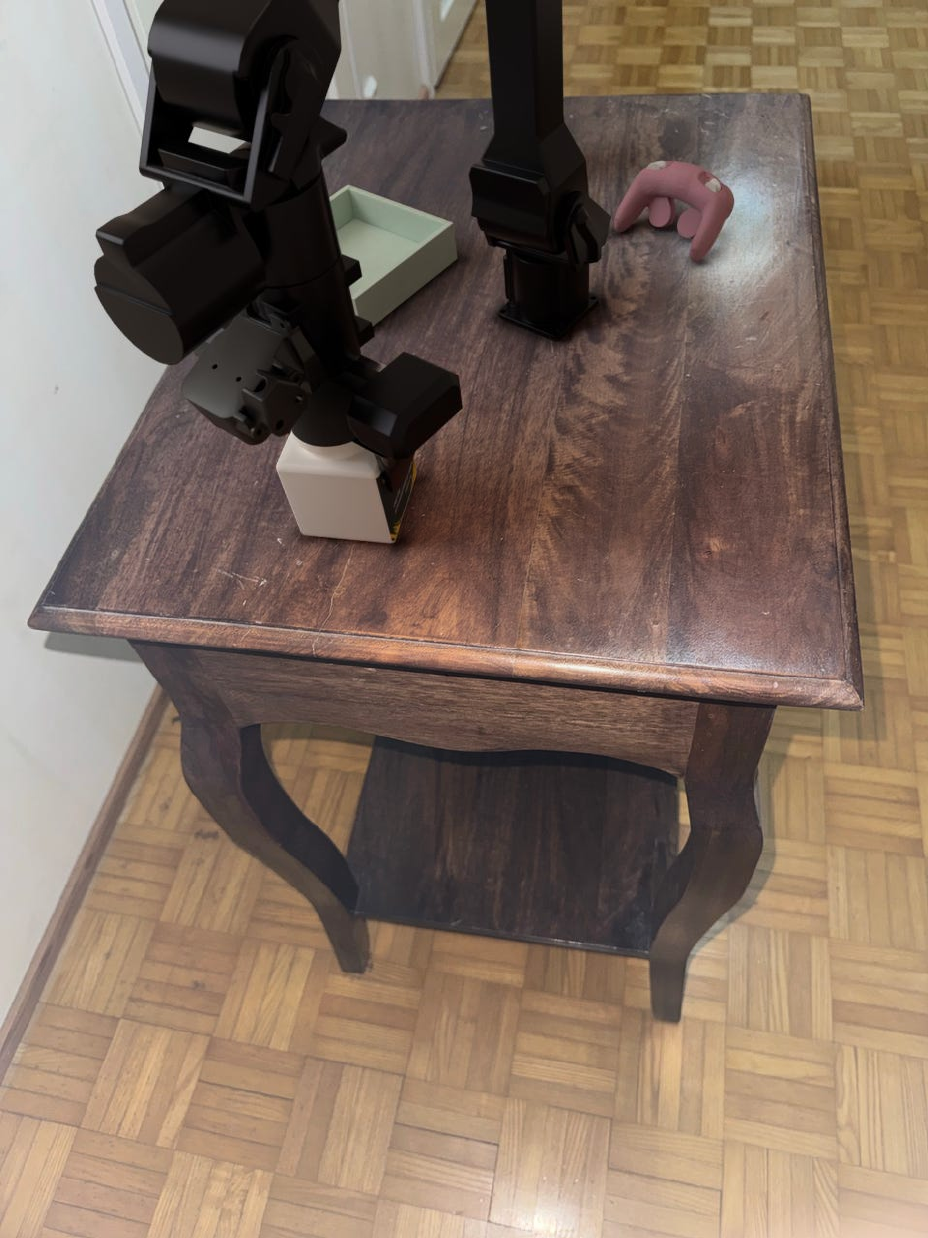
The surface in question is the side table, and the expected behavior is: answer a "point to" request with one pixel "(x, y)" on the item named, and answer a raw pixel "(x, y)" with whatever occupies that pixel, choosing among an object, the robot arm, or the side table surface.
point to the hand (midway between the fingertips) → (345, 461)
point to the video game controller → (688, 186)
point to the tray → (389, 249)
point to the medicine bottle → (338, 476)
